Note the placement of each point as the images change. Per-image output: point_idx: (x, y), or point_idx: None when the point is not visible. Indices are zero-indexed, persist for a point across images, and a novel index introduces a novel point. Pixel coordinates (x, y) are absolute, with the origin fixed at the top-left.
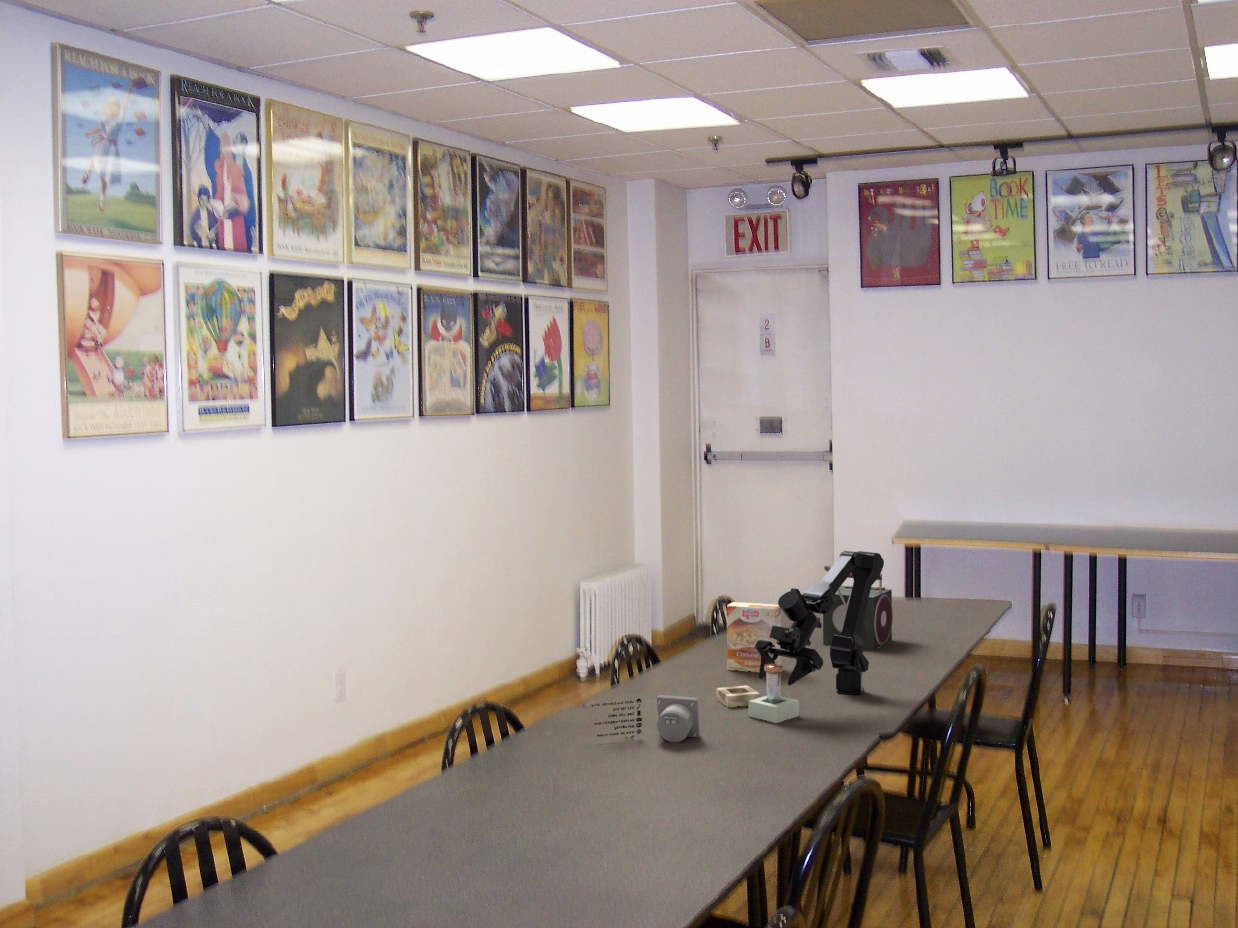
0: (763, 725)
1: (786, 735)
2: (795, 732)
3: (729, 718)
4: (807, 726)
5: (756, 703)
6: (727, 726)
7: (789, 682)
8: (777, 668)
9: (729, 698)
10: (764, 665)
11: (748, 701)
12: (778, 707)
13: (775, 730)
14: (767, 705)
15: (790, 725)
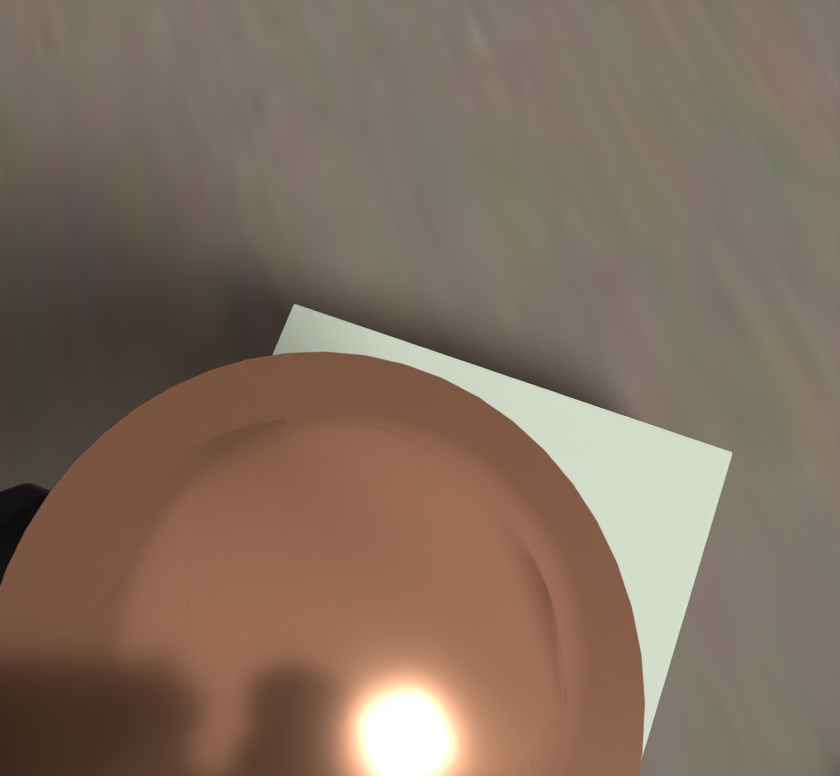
0: (423, 242)
1: (156, 62)
2: (104, 165)
3: (828, 327)
4: (40, 373)
5: (593, 409)
6: (717, 83)
7: (5, 502)
8: (112, 448)
9: None
10: (624, 595)
11: (729, 455)
12: (280, 347)
13: (277, 148)
14: (421, 348)
15: (192, 341)
